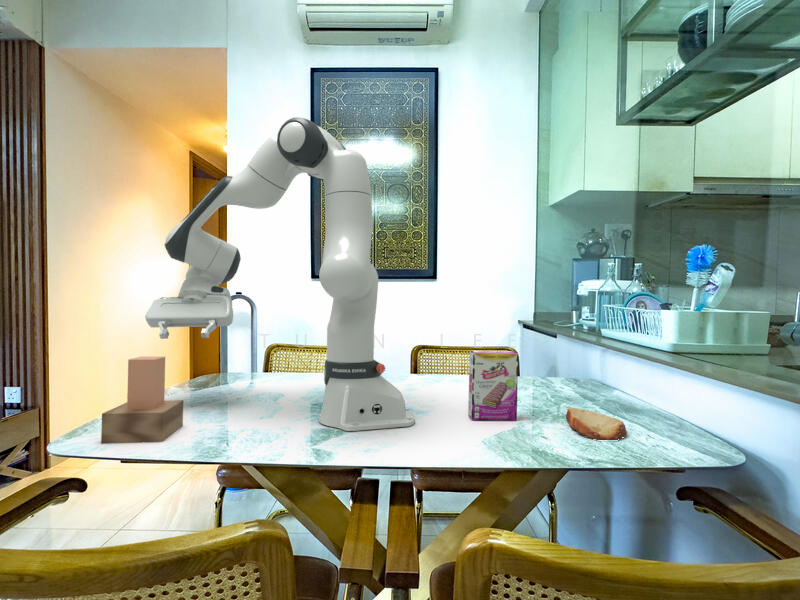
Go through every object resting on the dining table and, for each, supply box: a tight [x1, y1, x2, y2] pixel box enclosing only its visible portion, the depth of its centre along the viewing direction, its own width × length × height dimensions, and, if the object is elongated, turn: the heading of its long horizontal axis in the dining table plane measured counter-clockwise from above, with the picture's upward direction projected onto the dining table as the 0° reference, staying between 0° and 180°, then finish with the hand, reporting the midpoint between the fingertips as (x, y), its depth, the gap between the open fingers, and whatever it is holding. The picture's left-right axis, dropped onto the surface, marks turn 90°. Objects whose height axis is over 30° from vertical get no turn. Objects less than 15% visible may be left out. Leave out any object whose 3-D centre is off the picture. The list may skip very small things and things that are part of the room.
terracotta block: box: [126, 356, 166, 409], centre depth 89 cm, size 5×5×10 cm
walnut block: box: [100, 399, 184, 445], centre depth 88 cm, size 11×11×6 cm
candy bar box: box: [467, 350, 519, 421], centre depth 104 cm, size 11×5×16 cm, turn 92°
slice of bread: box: [565, 407, 628, 441], centre depth 98 cm, size 18×18×4 cm
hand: (183, 336), depth 104 cm, fingers open, 8 cm apart
